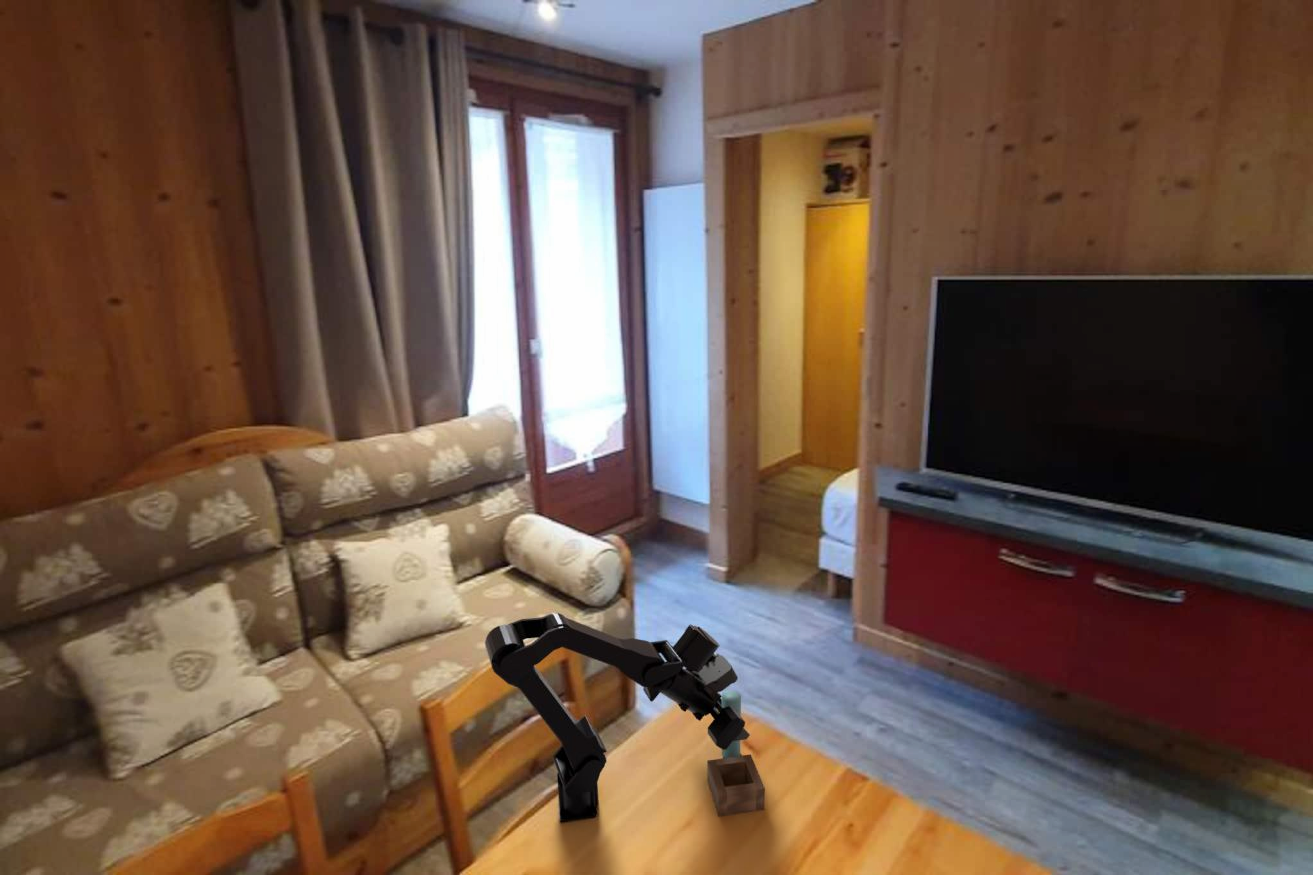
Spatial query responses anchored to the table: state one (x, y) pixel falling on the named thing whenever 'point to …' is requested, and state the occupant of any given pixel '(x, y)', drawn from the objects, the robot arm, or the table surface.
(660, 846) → the table surface
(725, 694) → the teal cylinder rod
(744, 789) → the hole block
